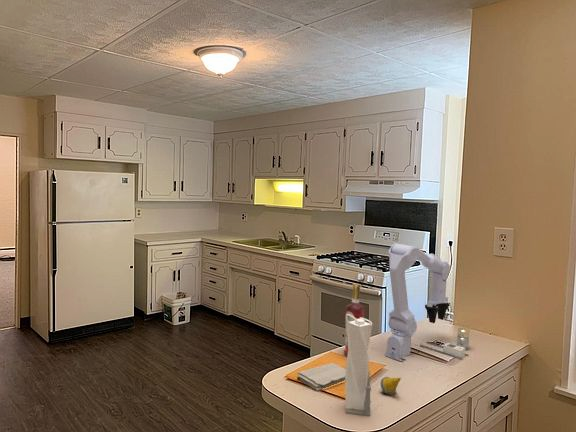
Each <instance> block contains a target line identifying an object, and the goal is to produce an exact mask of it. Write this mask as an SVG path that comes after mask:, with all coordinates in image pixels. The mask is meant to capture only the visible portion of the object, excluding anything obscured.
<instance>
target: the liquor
mask: <svg viewBox="0 0 576 432" xmlns="http://www.w3.org/2000/svg"><path fill="white" fill-rule="evenodd" d="M360 289H361V285H360V284H359V283H352V298H351V303H349V304H347V305H346V306H345V315H346V314H350V315H352V316H354V317H355V318H356V319H360V317H362V318H365V310H366V309H365V307H364V306H363V305H362V304H360ZM347 317H348V322H351V321H355V319H354V318H352V317H351V316H347ZM344 345H345V348H344V350H343V352H344V354H345V355H346V356H347V355H348V350H349V349H348V332H347V318H346V317H345V343H344Z"/></svg>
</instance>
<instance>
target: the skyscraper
mask: <svg viewBox="0 0 576 432" xmlns="http://www.w3.org/2000/svg"><path fill="white" fill-rule="evenodd" d="M347 316H351V317H352V318H354V319H355V321H351V322H348V317H347ZM346 318H347V332H348V349H349V350H348V355H346V362H345V369H346V374H345V383H344V384H345V385H344V387H345V388H344V389H345V391H344V392H345V395H344V397H345V414H351V415H356V416H357V415H358V416H363V417H364V416H366V417H371V402H372V401H371V391H372V386H371V377H370V376H371V375H370V374H371V371H370V359H369V353H368V348H369V343H370V339H371V335H372V330H373V326H374V325H373V322H372V321H371V320H370V319H367V318H365V317H364V318H362V317H360V319H356V318H355V317H354V316H352V315H350V314H346V313H345V319H346Z"/></svg>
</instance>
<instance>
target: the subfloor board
mask: <svg viewBox="0 0 576 432" xmlns="http://www.w3.org/2000/svg"><path fill="white" fill-rule="evenodd" d="M426 344H428V345H432V346H434V347H436V348H441V349H443V345H439V344H437V343H433V342H430V341H426ZM419 347H422V348H424V349H426V350H430V351H432V352H437V353H439V354H443V355H445V356H448V357H452V358H455V359H458V360H461V361H462V360H463V357H461V358H460V357H457V356H454V355H451V354H448V353H445V352H443V350H442V351H441V350H439V349H435V348H432V347H429V346H427V345H426V346H425V345H424V344H419ZM464 357H469V353H468V354H467V353H465V356H464Z"/></svg>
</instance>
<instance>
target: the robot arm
mask: <svg viewBox="0 0 576 432" xmlns="http://www.w3.org/2000/svg"><path fill="white" fill-rule="evenodd" d="M388 261H389V276H390V285H391V293H392V302H393V309H392V310H391V311H390V312H389V314H388V327H389V329H390V332H392V333H391V335H390V337H388V338H387V341H386V342H387V343H386V353H384V356H385V357H388V358H391V359H393V360H396V361H399V362H402V363H403V362H404V361H406V360H407V359H405V358H403V357H406V356H409V355H411V348H412V336H414V334H415V333H416V332H417V329H418V325H417V321H416V319H415V315H414V313H412V312H411V310H410V309H409V302H408V299H409V298H408V292H407V290H408V289H407V281H406V275H405V273H406V271H407V270H410V268H411V267H413V265H414V264H415V263H416V261H420V262H421V264H422V266H423V267H424V268H426V269H427V270H429V271H430V273H431V275H432V277H431V288H430V289H431V291H430V298H429V300H428V301H426V304H425V305H424V308H425V310H426V312H427V316H428V321H429V323H431V324H435V323H436V320H437V318H438V319H439V320H443V321H444V319H445V317H446V313H447V310H448V308H449V307H450V305H451V303H450V302H449V297H447V296H446V292H447V280H448V279H449V274H450V273H451V266H450V264H449V263H448V262H447V261H443V260H441V258H440V257H436V254H434V253H426V252H424V251H422V250H421V249H420V247H418V246H415V245H407V244H403V243H402V244H400V243H398V242H394V243H393V244H392V245H391V246H390V248H389V250H388Z"/></svg>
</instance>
